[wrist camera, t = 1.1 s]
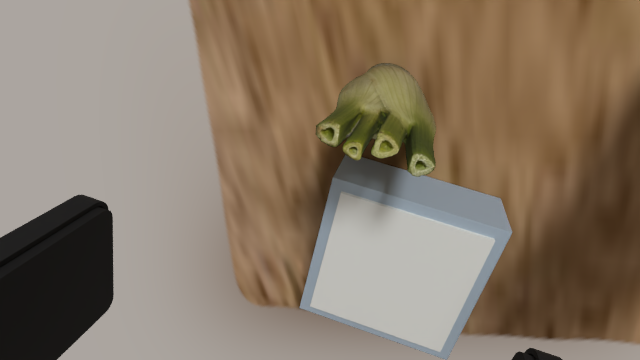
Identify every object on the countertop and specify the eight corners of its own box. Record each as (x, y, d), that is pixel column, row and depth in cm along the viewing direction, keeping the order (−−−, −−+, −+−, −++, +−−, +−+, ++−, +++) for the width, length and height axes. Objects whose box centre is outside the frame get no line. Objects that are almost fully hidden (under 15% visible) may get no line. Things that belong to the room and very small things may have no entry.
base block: (500, 198, 31) (513, 234, 26) (444, 315, 36) (446, 363, 31) (346, 152, 32) (332, 179, 27) (315, 271, 37) (298, 310, 33)
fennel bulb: (443, 102, 29) (451, 163, 18) (392, 147, 31) (372, 225, 20) (386, 43, 28) (358, 70, 18) (338, 93, 30) (288, 144, 20)
